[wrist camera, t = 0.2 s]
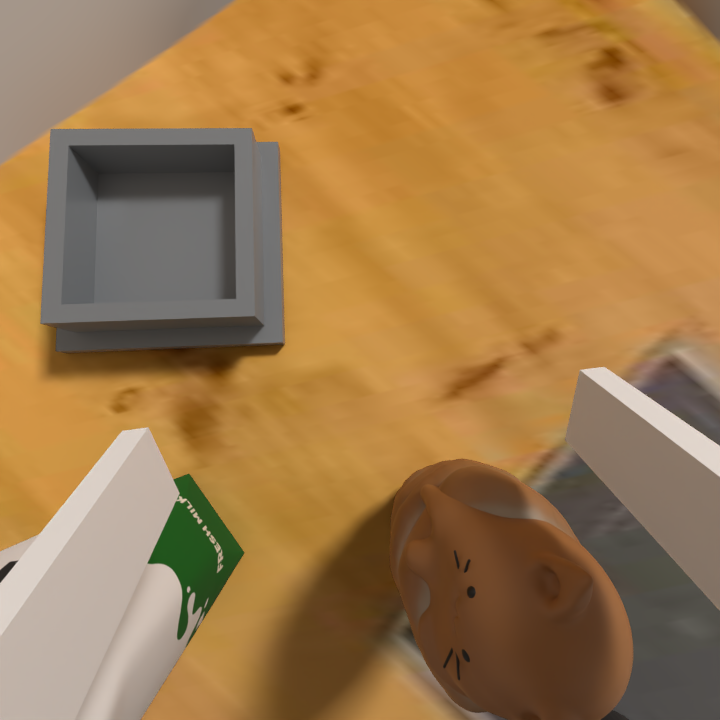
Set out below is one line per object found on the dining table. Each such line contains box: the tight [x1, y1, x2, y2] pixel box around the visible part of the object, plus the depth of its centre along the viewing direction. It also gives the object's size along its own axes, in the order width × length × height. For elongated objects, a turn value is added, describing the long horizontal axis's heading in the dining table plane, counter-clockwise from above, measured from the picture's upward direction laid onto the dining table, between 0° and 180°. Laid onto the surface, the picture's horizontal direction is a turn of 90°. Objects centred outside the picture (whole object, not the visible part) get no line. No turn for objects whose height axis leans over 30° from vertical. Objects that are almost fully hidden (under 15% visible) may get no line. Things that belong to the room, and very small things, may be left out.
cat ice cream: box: [389, 459, 633, 720], centre depth 18 cm, size 9×8×18 cm
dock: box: [40, 128, 285, 353], centre depth 26 cm, size 16×16×4 cm
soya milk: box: [0, 474, 244, 720], centre depth 15 cm, size 9×9×20 cm
